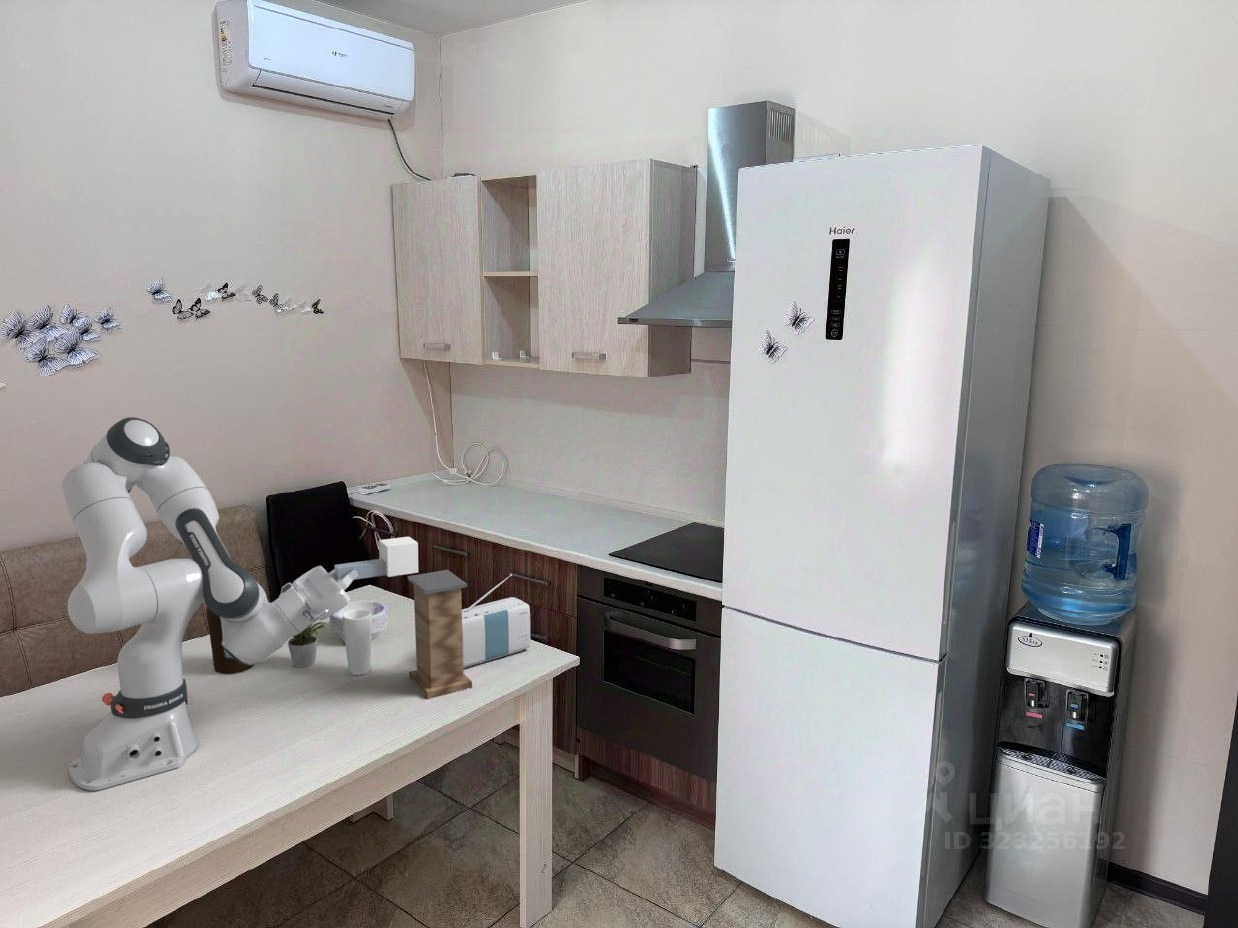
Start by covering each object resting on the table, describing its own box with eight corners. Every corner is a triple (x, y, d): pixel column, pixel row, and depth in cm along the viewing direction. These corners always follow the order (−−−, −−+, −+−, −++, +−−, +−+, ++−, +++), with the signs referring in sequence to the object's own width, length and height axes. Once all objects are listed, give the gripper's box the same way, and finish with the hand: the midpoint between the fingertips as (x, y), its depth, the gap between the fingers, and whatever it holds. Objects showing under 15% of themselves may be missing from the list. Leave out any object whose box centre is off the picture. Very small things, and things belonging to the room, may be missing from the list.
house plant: (312, 680, 204) (309, 617, 201) (261, 675, 207) (256, 612, 204) (343, 656, 218) (340, 596, 215) (294, 651, 220) (290, 592, 217)
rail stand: (427, 698, 196) (424, 592, 191) (408, 677, 206) (405, 576, 201) (472, 687, 201) (469, 583, 196) (451, 667, 212) (448, 568, 207)
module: (340, 583, 183) (339, 552, 182) (333, 576, 188) (332, 545, 187) (418, 572, 193) (417, 542, 191) (409, 565, 198) (409, 536, 196)
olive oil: (205, 665, 212) (196, 570, 207) (248, 653, 219) (241, 561, 214) (220, 679, 204) (211, 580, 199) (264, 666, 211) (257, 571, 207)
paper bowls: (400, 633, 234) (399, 605, 232) (357, 651, 221) (355, 623, 220) (362, 621, 242) (361, 595, 240) (318, 639, 229) (316, 611, 227)
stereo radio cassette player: (461, 672, 210) (459, 596, 206) (445, 661, 216) (443, 587, 212) (532, 651, 223) (531, 579, 219) (515, 641, 229) (514, 571, 225)
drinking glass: (356, 679, 205) (353, 621, 202) (339, 672, 209) (336, 614, 206) (379, 670, 210) (377, 613, 207) (362, 663, 214) (360, 607, 211)
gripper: (301, 612, 172) (359, 570, 178) (280, 584, 189) (333, 546, 194) (319, 634, 175) (375, 593, 180) (296, 604, 192) (348, 567, 197)
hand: (353, 568), depth 187 cm, fingers closed on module, 3 cm apart
